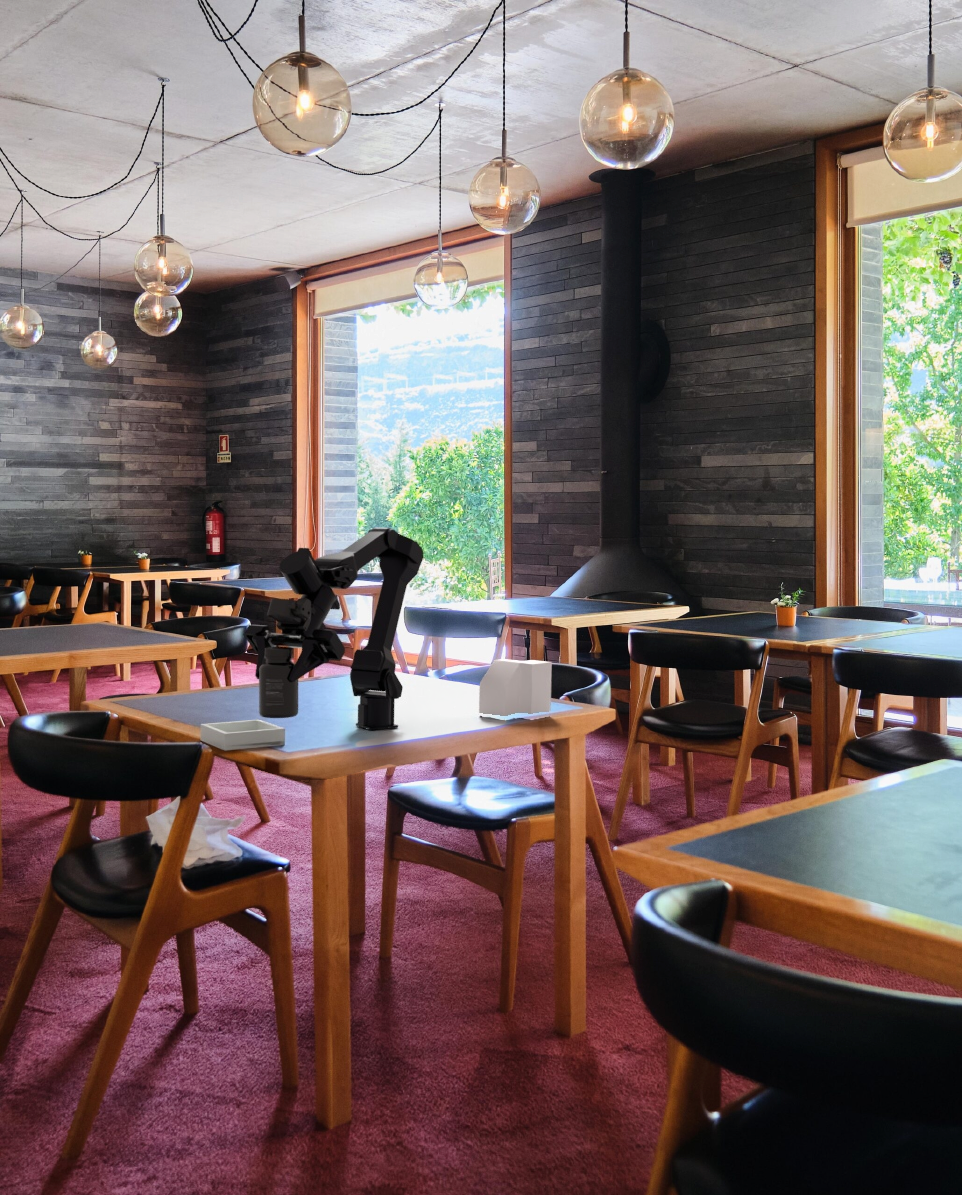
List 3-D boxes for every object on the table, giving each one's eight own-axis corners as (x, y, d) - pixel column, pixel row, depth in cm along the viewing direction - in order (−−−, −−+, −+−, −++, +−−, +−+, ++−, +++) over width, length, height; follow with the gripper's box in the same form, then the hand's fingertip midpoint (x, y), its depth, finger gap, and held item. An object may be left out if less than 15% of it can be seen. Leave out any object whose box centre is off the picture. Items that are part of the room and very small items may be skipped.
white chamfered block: (550, 717, 246) (551, 662, 246) (517, 722, 238) (518, 665, 237) (512, 711, 253) (513, 657, 253) (479, 716, 245) (480, 661, 244)
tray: (258, 735, 217) (259, 719, 217) (284, 744, 207) (285, 728, 207) (200, 740, 210) (200, 724, 210) (224, 750, 201) (224, 733, 201)
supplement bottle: (306, 715, 200) (307, 647, 199) (277, 720, 194) (278, 650, 193) (279, 711, 204) (279, 644, 203) (250, 716, 198) (250, 647, 198)
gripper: (250, 580, 205) (209, 646, 196) (336, 583, 197) (298, 653, 188) (276, 620, 213) (238, 686, 204) (360, 625, 204) (325, 694, 195)
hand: (273, 679), depth 197 cm, fingers closed on supplement bottle, 7 cm apart
